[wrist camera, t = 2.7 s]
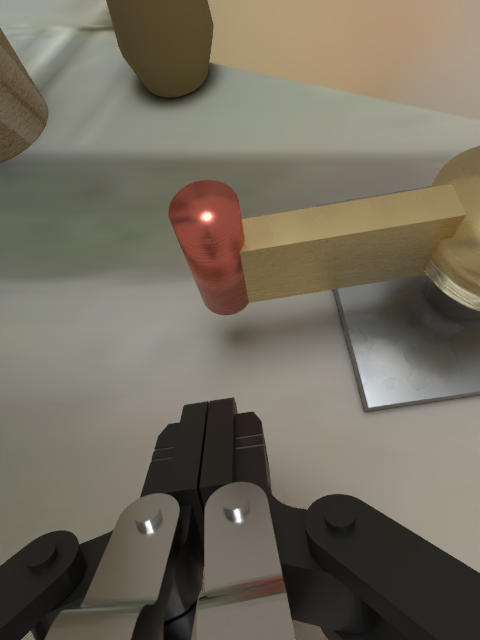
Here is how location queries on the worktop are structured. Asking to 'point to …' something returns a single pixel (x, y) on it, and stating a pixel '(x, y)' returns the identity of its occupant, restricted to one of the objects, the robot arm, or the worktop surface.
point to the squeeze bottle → (165, 42)
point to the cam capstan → (333, 241)
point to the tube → (18, 104)
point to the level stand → (409, 341)
